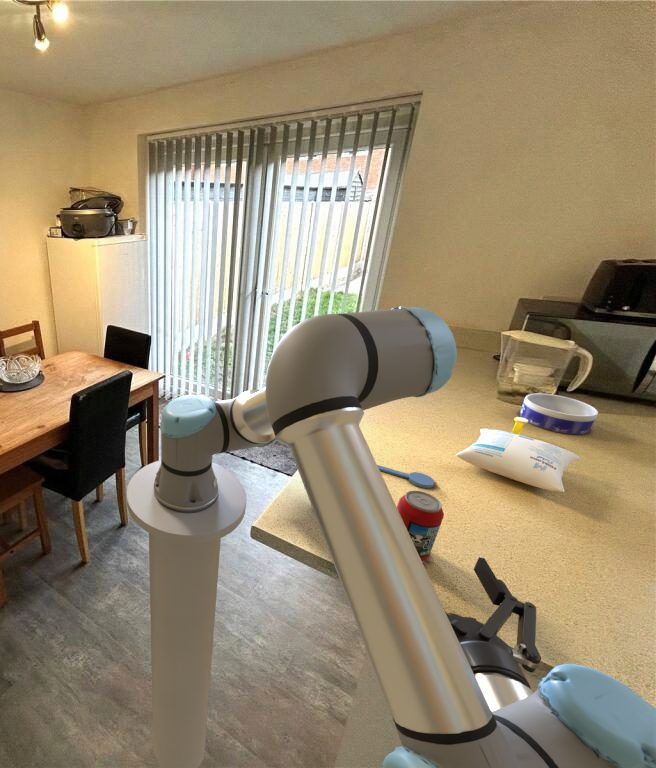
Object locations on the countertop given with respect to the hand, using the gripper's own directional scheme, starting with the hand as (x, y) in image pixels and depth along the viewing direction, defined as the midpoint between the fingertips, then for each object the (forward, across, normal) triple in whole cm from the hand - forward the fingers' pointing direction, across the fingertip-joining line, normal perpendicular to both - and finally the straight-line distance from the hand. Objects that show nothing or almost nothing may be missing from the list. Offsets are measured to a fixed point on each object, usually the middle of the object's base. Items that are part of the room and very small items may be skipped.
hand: (430, 554), depth 65 cm
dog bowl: (+74, +56, -7) cm, 93 cm away
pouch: (+43, +32, -7) cm, 54 cm away
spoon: (+34, +3, -7) cm, 35 cm away
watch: (+61, +40, -7) cm, 73 cm away
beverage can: (+8, 0, -7) cm, 10 cm away
